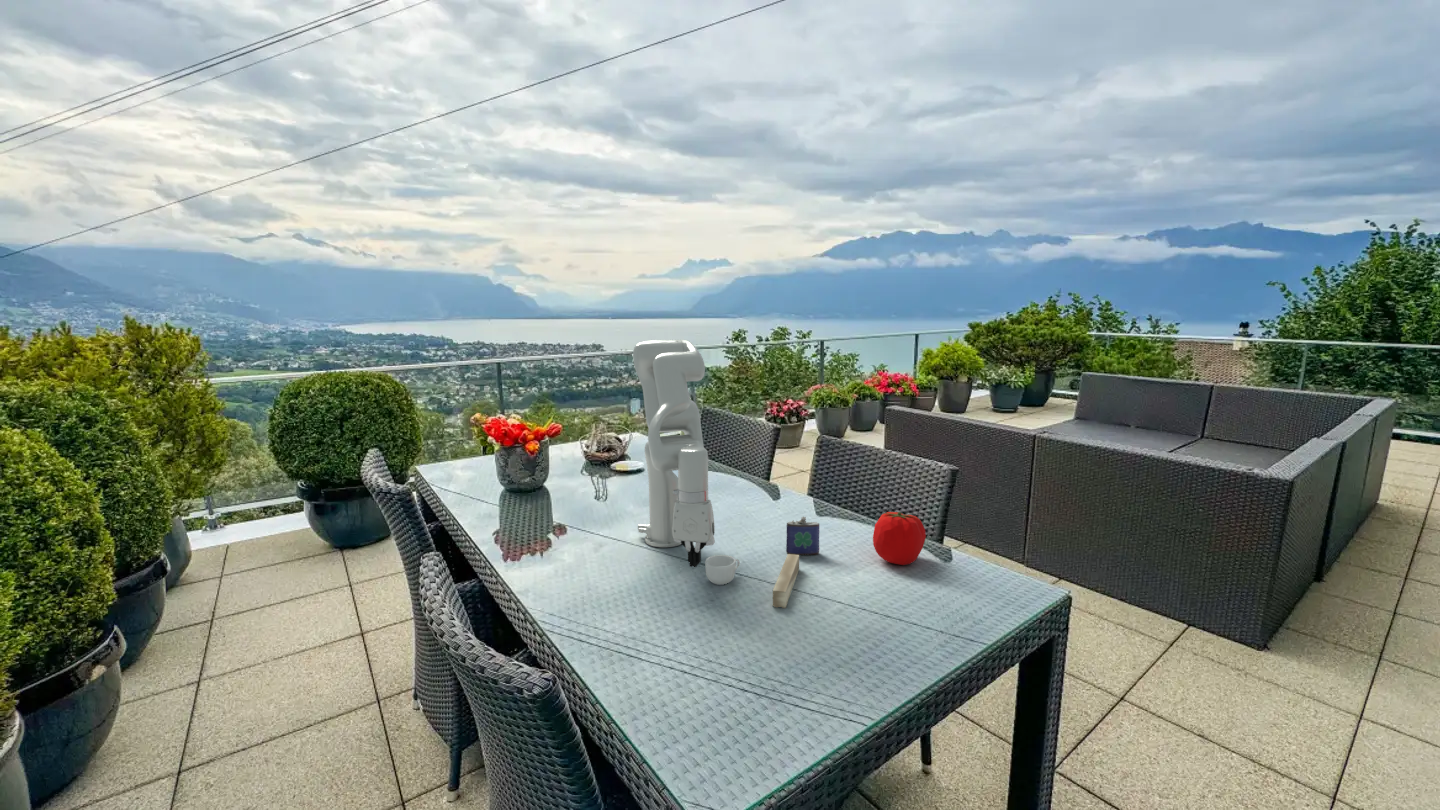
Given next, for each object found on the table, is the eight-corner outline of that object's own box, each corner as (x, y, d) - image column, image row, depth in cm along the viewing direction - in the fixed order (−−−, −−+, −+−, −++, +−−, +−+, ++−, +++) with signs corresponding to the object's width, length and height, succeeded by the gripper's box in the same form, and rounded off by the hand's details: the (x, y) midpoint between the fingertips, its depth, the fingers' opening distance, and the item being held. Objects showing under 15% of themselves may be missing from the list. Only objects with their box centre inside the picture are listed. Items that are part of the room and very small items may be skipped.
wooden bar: (772, 606, 134) (772, 590, 133) (787, 568, 155) (787, 553, 154) (785, 608, 133) (785, 591, 132) (799, 569, 154) (799, 554, 153)
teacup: (717, 590, 142) (717, 569, 141) (699, 580, 148) (698, 559, 147) (748, 579, 148) (748, 559, 147) (730, 569, 154) (729, 550, 153)
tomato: (893, 574, 150) (895, 523, 148) (859, 555, 162) (861, 508, 161) (939, 564, 156) (941, 515, 154) (904, 546, 169) (905, 501, 167)
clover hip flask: (818, 551, 166) (819, 515, 164) (819, 555, 163) (820, 518, 161) (785, 551, 166) (786, 515, 165) (786, 555, 163) (786, 518, 162)
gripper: (660, 497, 146) (661, 567, 148) (717, 502, 141) (718, 574, 144) (670, 489, 153) (672, 556, 155) (726, 493, 149) (726, 562, 151)
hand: (694, 564), depth 150 cm, fingers closed
